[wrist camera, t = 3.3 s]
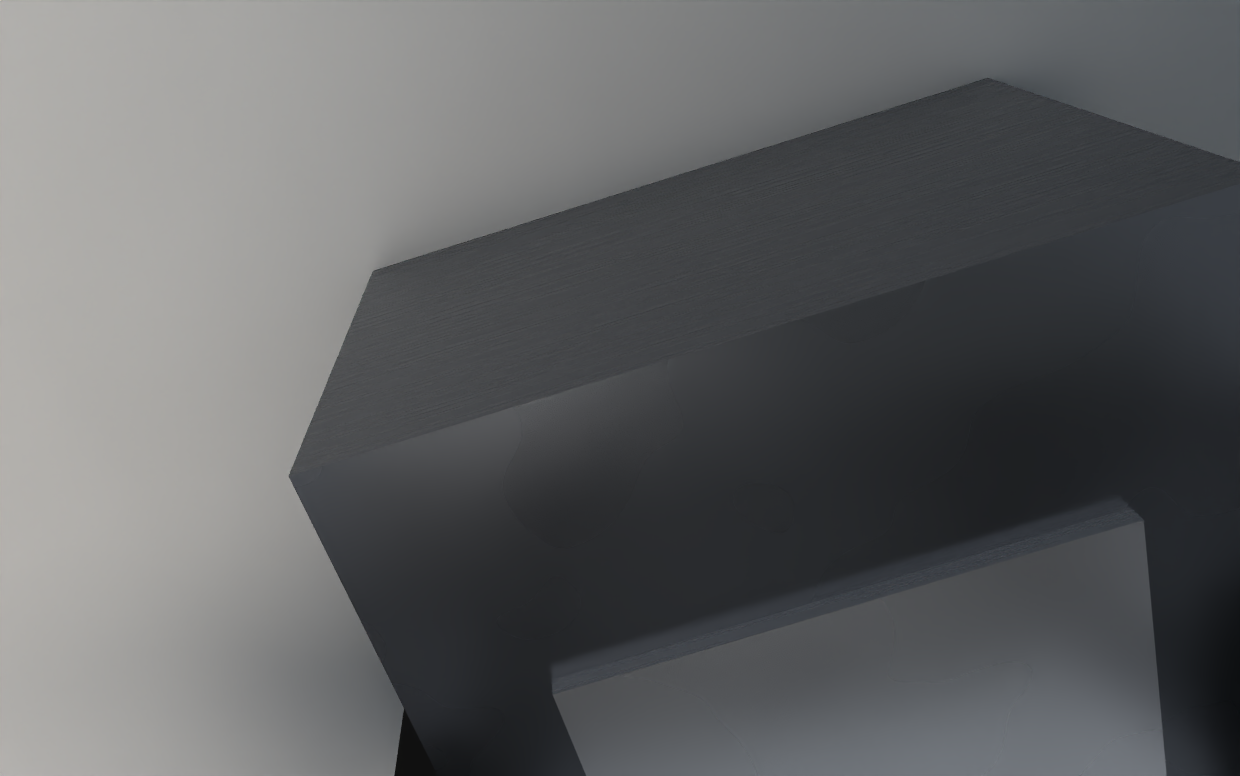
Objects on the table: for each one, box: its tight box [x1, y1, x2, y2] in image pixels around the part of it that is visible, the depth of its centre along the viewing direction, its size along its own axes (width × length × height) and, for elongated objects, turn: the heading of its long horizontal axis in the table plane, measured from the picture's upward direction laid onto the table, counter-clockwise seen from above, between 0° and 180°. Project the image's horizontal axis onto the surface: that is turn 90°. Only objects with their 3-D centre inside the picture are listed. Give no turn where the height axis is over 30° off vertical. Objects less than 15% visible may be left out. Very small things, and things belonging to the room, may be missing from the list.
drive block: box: [289, 78, 1240, 776], centre depth 10 cm, size 6×10×4 cm, turn 16°
